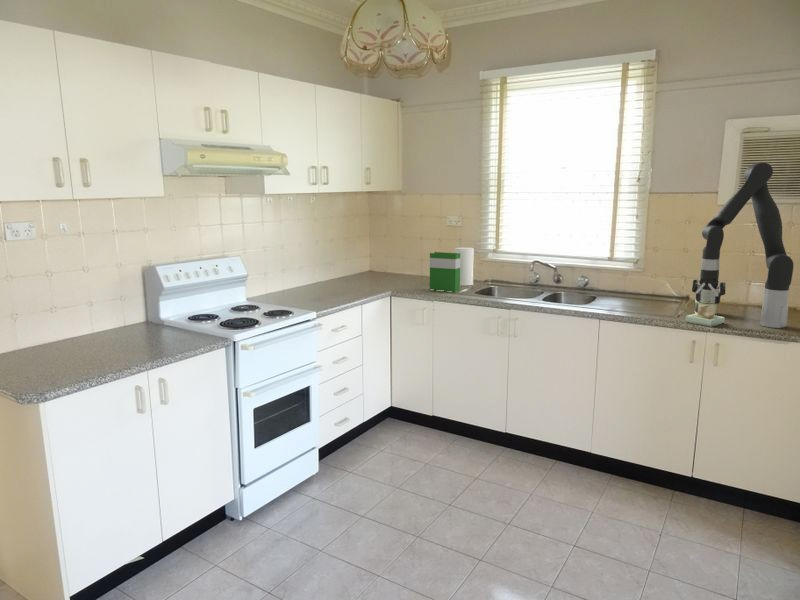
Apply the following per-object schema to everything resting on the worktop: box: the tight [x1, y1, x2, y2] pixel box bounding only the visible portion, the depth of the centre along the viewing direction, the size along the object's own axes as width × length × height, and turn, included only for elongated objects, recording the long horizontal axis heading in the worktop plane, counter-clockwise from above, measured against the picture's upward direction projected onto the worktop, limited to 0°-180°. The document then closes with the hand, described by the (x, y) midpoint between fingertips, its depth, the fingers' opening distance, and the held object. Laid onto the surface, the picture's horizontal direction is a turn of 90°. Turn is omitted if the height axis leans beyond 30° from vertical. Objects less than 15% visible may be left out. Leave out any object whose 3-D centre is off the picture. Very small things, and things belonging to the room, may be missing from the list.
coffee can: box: [693, 284, 720, 316], centre depth 283 cm, size 10×10×14 cm
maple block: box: [698, 305, 715, 320], centre depth 263 cm, size 5×5×7 cm
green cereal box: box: [429, 251, 461, 293], centre depth 351 cm, size 18×7×24 cm, turn 61°
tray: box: [684, 313, 726, 328], centre depth 264 cm, size 12×12×3 cm
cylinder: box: [454, 246, 475, 286], centre depth 372 cm, size 12×12×25 cm
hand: (707, 302), depth 262 cm, fingers open, 8 cm apart
